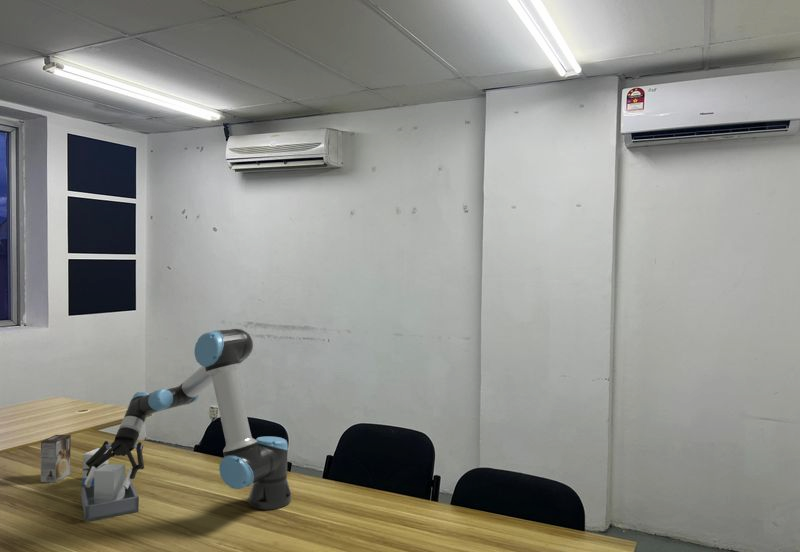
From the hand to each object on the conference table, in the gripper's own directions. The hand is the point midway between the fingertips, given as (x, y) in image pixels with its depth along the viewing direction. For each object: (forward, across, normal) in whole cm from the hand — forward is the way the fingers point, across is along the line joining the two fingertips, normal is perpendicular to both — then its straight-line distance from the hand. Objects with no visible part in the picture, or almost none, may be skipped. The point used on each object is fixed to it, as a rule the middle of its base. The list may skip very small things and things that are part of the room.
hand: (105, 486), depth 193 cm
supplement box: (+3, 0, -6) cm, 7 cm away
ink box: (-11, +18, -23) cm, 31 cm away
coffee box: (-13, +35, -24) cm, 44 cm away
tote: (+4, 0, -7) cm, 8 cm away
